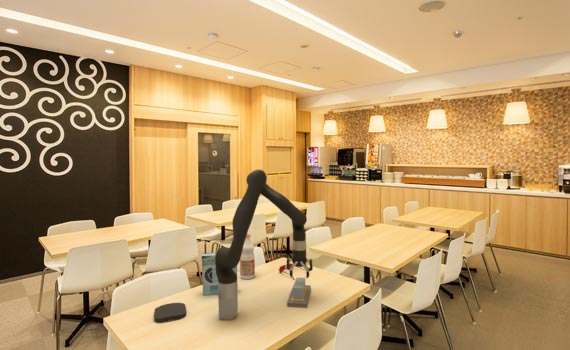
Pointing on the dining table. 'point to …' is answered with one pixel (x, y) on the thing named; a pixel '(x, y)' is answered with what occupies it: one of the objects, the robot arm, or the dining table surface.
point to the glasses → (285, 268)
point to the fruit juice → (247, 260)
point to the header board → (299, 302)
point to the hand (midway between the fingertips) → (299, 277)
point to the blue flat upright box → (210, 274)
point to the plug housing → (299, 288)
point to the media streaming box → (170, 312)
